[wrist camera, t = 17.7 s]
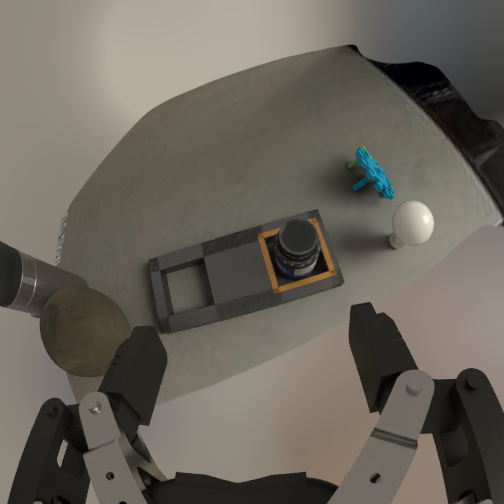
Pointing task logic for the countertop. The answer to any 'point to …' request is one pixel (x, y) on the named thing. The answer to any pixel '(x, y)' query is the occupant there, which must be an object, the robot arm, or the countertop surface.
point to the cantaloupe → (82, 330)
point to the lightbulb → (411, 224)
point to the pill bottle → (297, 248)
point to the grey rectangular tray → (239, 275)
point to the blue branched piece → (372, 173)
